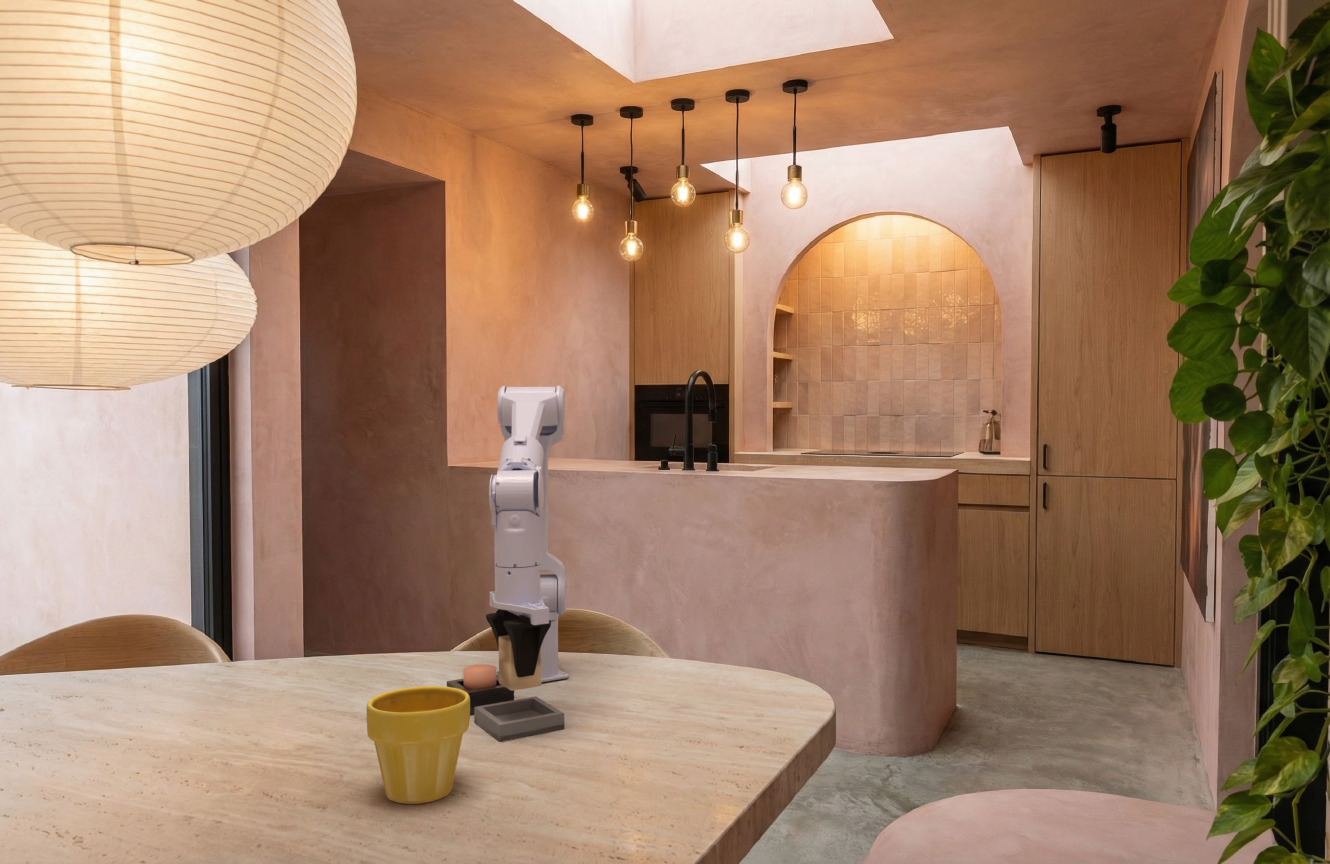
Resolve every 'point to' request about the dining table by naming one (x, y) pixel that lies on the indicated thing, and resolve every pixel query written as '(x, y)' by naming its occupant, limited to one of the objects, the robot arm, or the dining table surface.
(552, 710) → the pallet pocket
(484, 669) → the button
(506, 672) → the block
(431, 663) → the dining table surface
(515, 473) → the robot arm
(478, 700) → the button housing
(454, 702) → the plant pot
